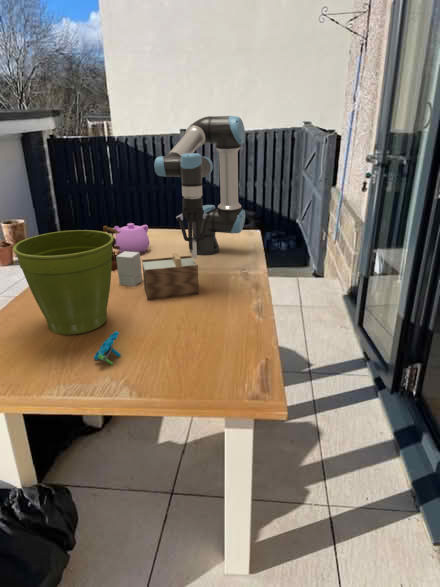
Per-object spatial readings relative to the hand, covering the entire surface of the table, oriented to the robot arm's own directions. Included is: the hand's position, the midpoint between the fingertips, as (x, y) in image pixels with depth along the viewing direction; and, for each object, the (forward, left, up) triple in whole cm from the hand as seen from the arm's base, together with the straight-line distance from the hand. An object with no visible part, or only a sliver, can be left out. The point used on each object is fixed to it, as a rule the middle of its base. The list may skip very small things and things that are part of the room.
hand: (194, 257), depth 167 cm
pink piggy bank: (+21, -61, -13) cm, 66 cm away
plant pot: (+45, +20, -13) cm, 51 cm away
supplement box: (+25, -14, -13) cm, 32 cm away
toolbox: (+10, 0, -13) cm, 17 cm away
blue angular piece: (+35, +46, -14) cm, 59 cm away
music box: (+34, -37, -13) cm, 52 cm away
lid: (+10, 0, -3) cm, 10 cm away
